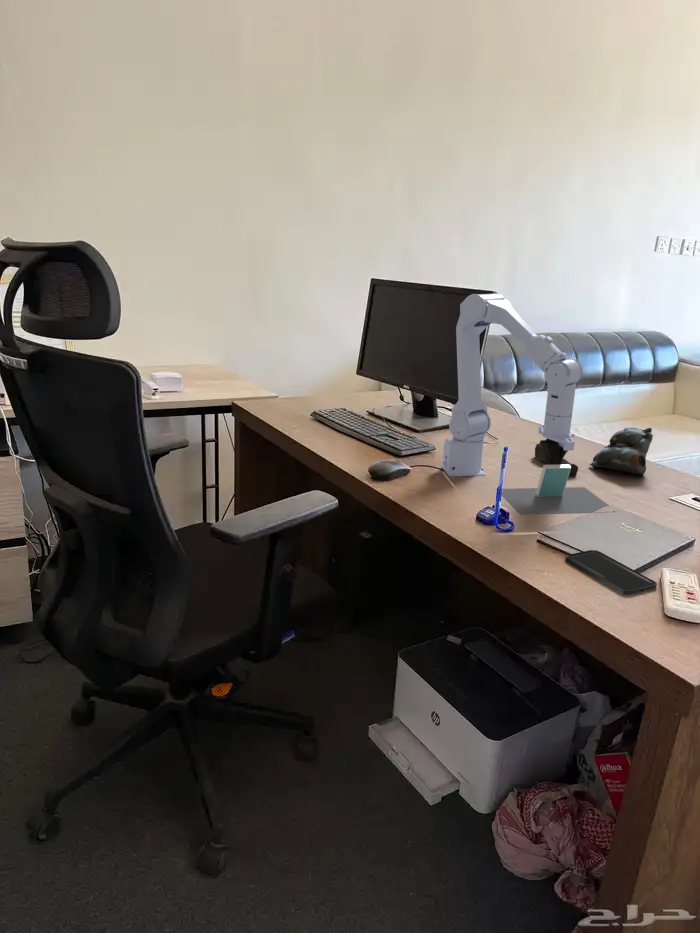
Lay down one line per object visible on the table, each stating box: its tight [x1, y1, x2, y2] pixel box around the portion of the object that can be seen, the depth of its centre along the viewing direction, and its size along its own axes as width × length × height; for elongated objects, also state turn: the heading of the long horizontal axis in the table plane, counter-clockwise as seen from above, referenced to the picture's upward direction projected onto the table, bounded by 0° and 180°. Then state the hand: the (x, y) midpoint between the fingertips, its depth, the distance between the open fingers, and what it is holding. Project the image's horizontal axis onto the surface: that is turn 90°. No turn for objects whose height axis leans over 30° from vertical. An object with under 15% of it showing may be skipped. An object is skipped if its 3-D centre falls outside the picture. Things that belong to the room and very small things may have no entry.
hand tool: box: [534, 442, 579, 478], centre depth 177 cm, size 19×4×5 cm, turn 10°
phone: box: [564, 549, 658, 596], centre depth 119 cm, size 8×1×15 cm
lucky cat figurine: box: [588, 426, 654, 477], centre depth 175 cm, size 15×12×14 cm
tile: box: [536, 464, 571, 497], centre depth 153 cm, size 6×1×8 cm, turn 97°
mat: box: [495, 486, 610, 516], centre depth 153 cm, size 22×16×1 cm
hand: (551, 472), depth 154 cm, fingers closed
